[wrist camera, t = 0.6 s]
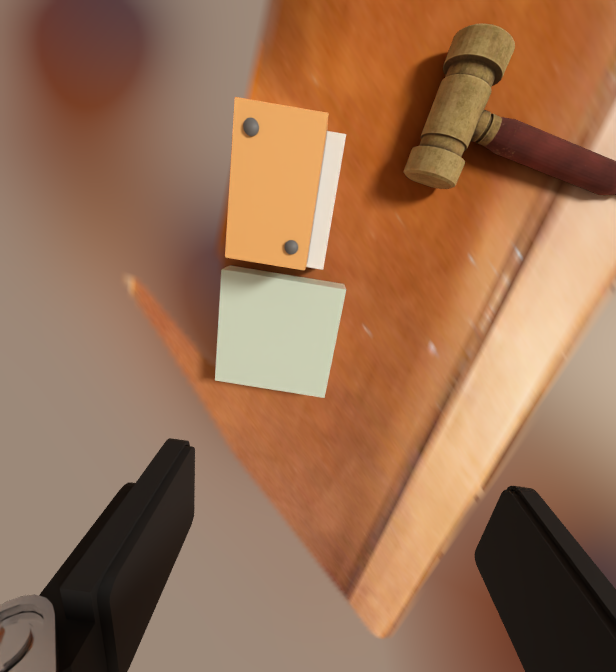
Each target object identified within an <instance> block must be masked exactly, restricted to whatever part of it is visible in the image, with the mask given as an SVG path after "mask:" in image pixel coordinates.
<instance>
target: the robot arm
mask: <svg viewBox="0 0 616 672" xmlns="http://www.w3.org/2000/svg"><path fill="white" fill-rule="evenodd" d="M194 479H195V448H194V447H190V445H189V441H184V440H178V439H168V440H167V441H166V442H165V443H164V445H163V446H162V447H161V449H160V450H159V452H158V453H157V454H156V456H155V457H154V458H153V460H152V461H151V463H150V464H149V465H148V467H147V468H146V470H145V471H144V472H143V474H142V475H141V476H140V478H139V479H138V481H137V482H136V483H127V484H125V485H124V486H123V487H122V488H121V489H120V490H119V492H118V493H117V494H116V496H115V497H114V498H113V500H112V501H111V502H110V504H109V505H108V506H107V508H106V509H105V510H104V511H103V513H102V514H101V515H100V516H99V518H98V519H97V520H96V522H95V523H94V524H93V526H92V527H91V528H90V530H89V531H88V532H87V534H86V535H85V536H84V537H83V539H82V540H81V541H80V543H79V544H78V545H77V547H76V548H75V549H74V551H73V552H72V553H71V554H70V556H69V557H68V558H67V560H66V561H65V562H64V564H63V565H62V566H61V567H60V569H59V570H58V571H57V573H56V574H55V575H54V577H53V578H52V579H51V581H50V582H49V583H48V585H47V586H46V587H45V588H44V590H43V591H42V592H41V594H40V595H39V596H38V595H27V596H21V597H18V598H15V599H12V600H9V601H6V602H4V603H3V604H1V605H0V672H127V671H128V669H129V667H130V664H131V662H132V660H133V658H134V655H135V653H136V651H137V649H138V646H139V644H140V642H141V639H142V637H143V635H144V633H145V630H146V628H147V626H148V623H149V621H150V619H151V616H152V614H153V612H154V610H155V607H156V605H157V603H158V600H159V598H160V596H161V593H162V591H163V589H164V587H165V584H166V582H167V580H168V577H169V575H170V573H171V570H172V568H173V566H174V563H175V561H176V559H177V557H178V554H179V552H180V550H181V548H182V545H183V543H184V541H185V538H186V536H187V534H188V531H189V529H190V527H191V524H192V521H193V517H194V483H195V482H194V481H195V480H194ZM475 561H476V565H477V567H478V569H479V571H480V574H481V576H482V578H483V580H484V582H485V585H486V587H487V589H488V591H489V593H490V596H491V598H492V600H493V602H494V604H495V606H496V608H497V610H498V613H499V615H500V617H501V619H502V622H503V624H504V626H505V628H506V630H507V633H508V635H509V637H510V639H511V641H512V643H513V646H514V648H515V650H516V652H517V655H518V657H519V659H520V661H521V663H522V665H523V668H524V670H525V672H616V589H615V588H614V587H613V585H612V584H611V583H610V582H609V581H608V579H607V578H606V577H605V576H604V574H603V573H602V572H601V571H600V569H599V568H598V567H597V566H596V564H594V562H593V561H592V560H591V558H590V557H589V556H588V555H587V553H586V552H585V551H584V550H583V549H582V547H581V546H580V545H579V543H578V542H577V541H576V540H575V539H574V537H573V536H572V535H571V534H570V532H569V531H568V530H567V529H566V527H565V526H564V525H563V524H562V523H561V521H560V520H559V519H558V518H557V516H556V515H555V514H554V513H553V511H552V510H551V509H550V508H549V506H548V505H547V504H546V503H545V501H544V500H543V499H542V498H541V497H540V496H539V494H538V493H537V492H536V491H535V490H534V489H531V488H525V487H517V486H510V487H508V488H507V490H504V491H503V492H502V494H501V496H500V498H499V500H498V502H497V504H496V507H495V509H494V511H493V513H492V515H491V518H490V520H489V522H488V524H487V526H486V529H485V531H484V533H483V535H482V537H481V540H480V542H479V544H478V546H477V548H476V551H475Z"/></svg>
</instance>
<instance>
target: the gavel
mask: <svg viewBox="0 0 616 672" xmlns="http://www.w3.org/2000/svg"><path fill="white" fill-rule="evenodd" d="M514 48H515V42H514V40H513V38H512V37H511V35H510V34H509V33H508V32H507V31H505V30H504V29H502V28H500V27H498V26H495V25H491V24H475V25H471V26H468V27H465V28H463V29H461V30H460V31H459V32H457V33H456V35H455V36H454V38H453V41H452V44H451V46H450V49H449V52H448V54H447V57H446V60H445V62H444V65H443V72H444V74H445V75H446V76H445V78H444V79H443V80H442V81H441V84H440V87H439V89H438V92H437V95H436V97H435V100H434V102H433V105H432V108H431V110H430V113H429V116H428V118H427V121H426V124H425V126H424V129H423V131H422V134H421V137H420V138H421V142H420V145H419V146H416V147H413V148H412V150H411V153H410V155H409V158H408V161H407V163H406V166H405V169H404V174H405V175H406V176H407V177H408V178H409V179H411V180H412V181H415V182H418V183H420V184H423V185H426V186H429V187H433V188H439V189H449V188H452V187H455V185H456V183H457V181H458V178H459V176H460V174H461V171H462V169H463V167H464V164H465V161H464V160H463V159H462V158H461V157H462V154H463V152H464V151H465V150H466V149H467V148H468V145H469V143H470V141H472V142H476V143H478V144H480V145H483V146H485V147H486V148H487V149H489V150H490V151H492V152H493V153H495V154H497V155H500V156H502V157H505V158H507V159H510V160H512V161H515V162H518V163H520V164H523V165H525V166H528V167H530V168H533V169H535V170H538V171H540V172H543V173H545V174H548V175H550V176H553V177H555V178H558V179H560V180H563V181H565V182H568V183H570V184H573V185H575V186H578V187H581V188H583V189H586V190H588V191H591V192H593V193H596V194H598V195H616V161H614V160H612V159H609V158H607V157H604V156H602V155H600V154H597V153H595V152H592V151H590V150H588V149H585V148H583V147H580V146H578V145H576V144H573V143H571V142H568V141H566V140H564V139H561V138H559V137H556V136H554V135H552V134H549V133H547V132H544V131H542V130H540V129H537V128H535V127H532V126H530V125H528V124H525V123H523V122H520V121H518V120H515V119H509V118H504V117H499V116H497V115H495V114H491V113H490V112H489V111H486V110H484V108H485V106H486V103H487V101H488V99H489V96H490V94H491V87H492V86H493V85H495V84H497V83H498V82H499V81H500V80H501V79H502V77H503V74H504V72H505V70H506V68H507V65H508V63H509V61H510V58H511V56H512V54H513V51H514Z"/></svg>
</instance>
